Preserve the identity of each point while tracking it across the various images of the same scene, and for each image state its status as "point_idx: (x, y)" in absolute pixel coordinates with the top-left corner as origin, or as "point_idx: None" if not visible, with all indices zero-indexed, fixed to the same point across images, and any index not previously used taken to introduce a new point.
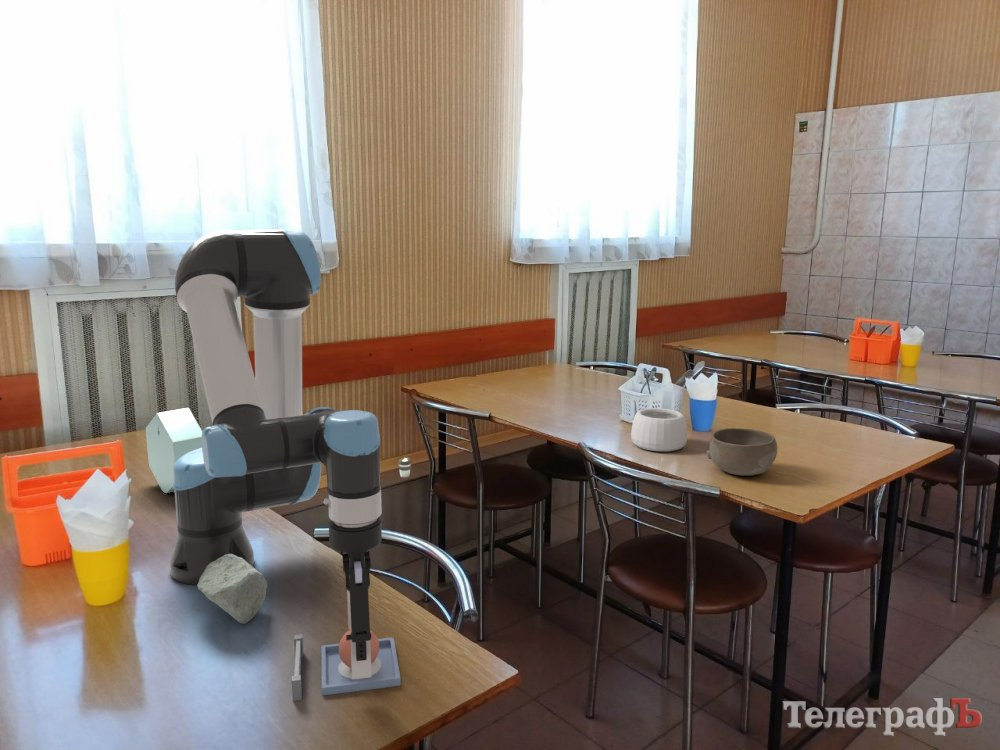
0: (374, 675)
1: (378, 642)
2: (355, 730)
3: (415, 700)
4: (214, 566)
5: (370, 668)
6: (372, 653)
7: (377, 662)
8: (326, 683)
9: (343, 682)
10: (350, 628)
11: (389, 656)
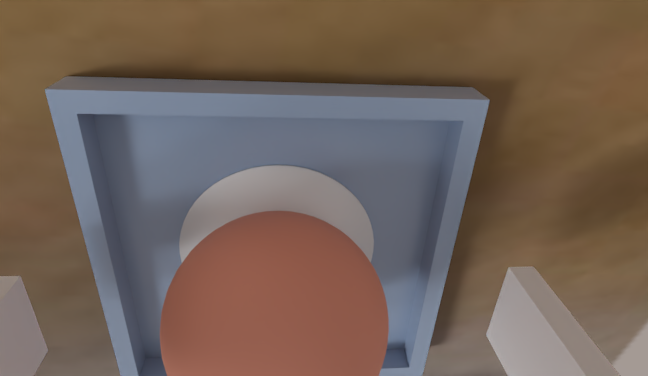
0: (365, 198)
1: (290, 251)
2: (644, 266)
3: (617, 31)
4: None
5: (559, 303)
6: (371, 272)
7: (266, 181)
8: None
9: None
10: (43, 347)
11: (214, 117)
